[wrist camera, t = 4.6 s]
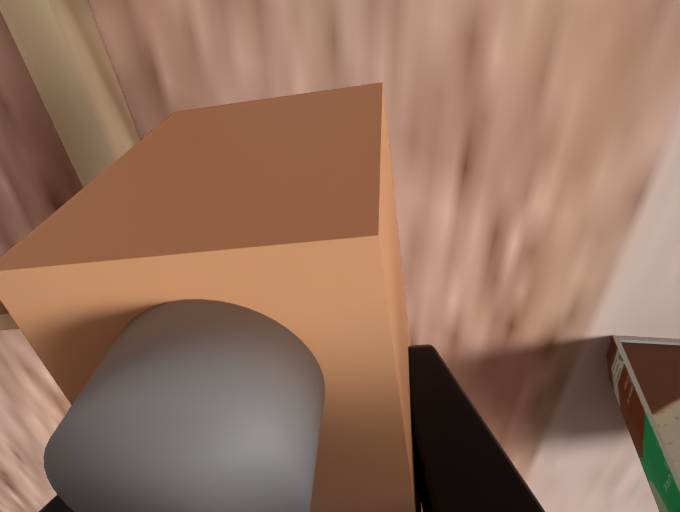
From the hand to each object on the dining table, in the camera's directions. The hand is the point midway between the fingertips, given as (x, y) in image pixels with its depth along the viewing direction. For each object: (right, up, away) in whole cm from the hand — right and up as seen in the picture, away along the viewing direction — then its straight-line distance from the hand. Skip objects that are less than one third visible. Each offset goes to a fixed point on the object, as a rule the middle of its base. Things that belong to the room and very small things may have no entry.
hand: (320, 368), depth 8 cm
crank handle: (0, 0, +1) cm, 1 cm away
